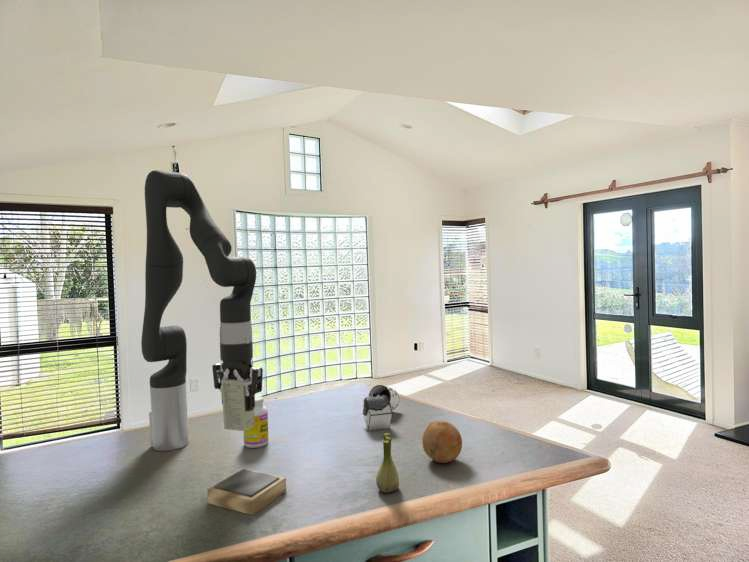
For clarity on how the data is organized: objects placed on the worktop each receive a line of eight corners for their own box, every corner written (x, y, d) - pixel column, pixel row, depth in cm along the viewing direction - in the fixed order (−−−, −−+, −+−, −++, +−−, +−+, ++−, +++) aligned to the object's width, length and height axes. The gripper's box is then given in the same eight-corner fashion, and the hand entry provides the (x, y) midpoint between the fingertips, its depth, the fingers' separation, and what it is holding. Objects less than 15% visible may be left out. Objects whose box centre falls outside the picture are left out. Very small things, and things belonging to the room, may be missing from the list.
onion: (467, 456, 123) (466, 417, 123) (456, 472, 114) (455, 429, 114) (430, 451, 127) (429, 413, 127) (417, 466, 118) (416, 425, 118)
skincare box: (255, 425, 120) (253, 376, 119) (244, 432, 116) (243, 381, 115) (233, 423, 122) (231, 375, 121) (222, 429, 118) (220, 379, 117)
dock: (207, 503, 103) (207, 487, 103) (244, 481, 113) (243, 466, 112) (252, 515, 97) (251, 498, 97) (286, 491, 107) (285, 475, 107)
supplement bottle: (262, 449, 132) (260, 402, 131) (239, 448, 133) (237, 401, 133) (272, 440, 138) (270, 395, 138) (250, 439, 140) (248, 394, 139)
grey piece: (371, 408, 166) (370, 379, 166) (400, 409, 165) (399, 379, 164) (357, 434, 141) (356, 400, 141) (392, 435, 140) (391, 401, 139)
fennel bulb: (390, 498, 103) (389, 441, 102) (370, 492, 105) (369, 437, 105) (403, 486, 108) (402, 432, 107) (384, 482, 110) (383, 429, 110)
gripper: (202, 340, 117) (204, 409, 118) (248, 344, 111) (251, 417, 112) (224, 335, 124) (226, 400, 125) (270, 339, 118) (272, 407, 119)
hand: (238, 408), depth 118 cm, fingers closed on skincare box, 6 cm apart
